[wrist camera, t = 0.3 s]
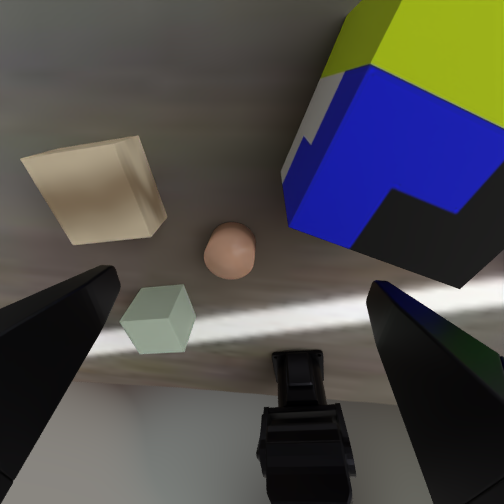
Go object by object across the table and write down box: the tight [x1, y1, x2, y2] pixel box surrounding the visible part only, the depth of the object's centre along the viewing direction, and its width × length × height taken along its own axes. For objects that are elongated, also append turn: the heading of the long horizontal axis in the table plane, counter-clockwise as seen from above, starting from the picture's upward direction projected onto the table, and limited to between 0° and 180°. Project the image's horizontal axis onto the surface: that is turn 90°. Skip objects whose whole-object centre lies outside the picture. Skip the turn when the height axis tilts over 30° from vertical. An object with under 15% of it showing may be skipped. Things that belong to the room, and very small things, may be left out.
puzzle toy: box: [281, 0, 504, 289], centre depth 14 cm, size 10×10×10 cm
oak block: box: [20, 135, 167, 245], centre depth 20 cm, size 7×7×4 cm
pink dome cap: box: [204, 222, 256, 279], centre depth 23 cm, size 4×4×3 cm
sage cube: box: [119, 284, 196, 354], centre depth 27 cm, size 5×5×5 cm
